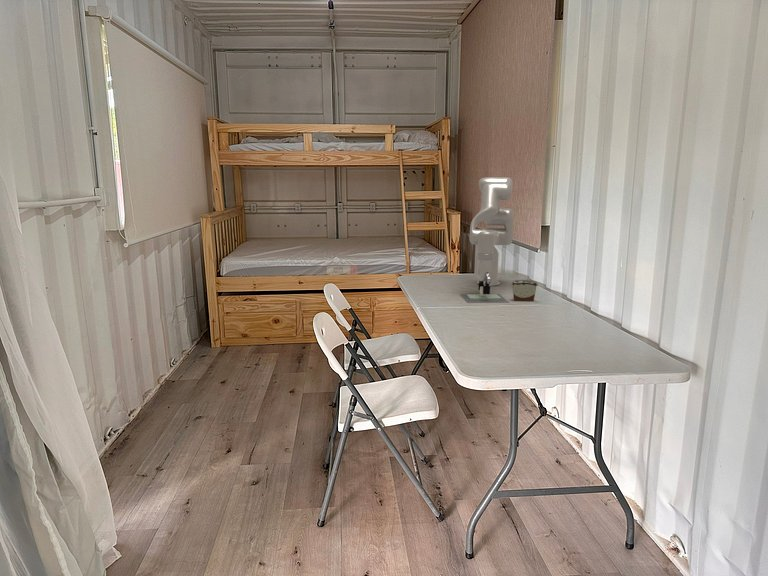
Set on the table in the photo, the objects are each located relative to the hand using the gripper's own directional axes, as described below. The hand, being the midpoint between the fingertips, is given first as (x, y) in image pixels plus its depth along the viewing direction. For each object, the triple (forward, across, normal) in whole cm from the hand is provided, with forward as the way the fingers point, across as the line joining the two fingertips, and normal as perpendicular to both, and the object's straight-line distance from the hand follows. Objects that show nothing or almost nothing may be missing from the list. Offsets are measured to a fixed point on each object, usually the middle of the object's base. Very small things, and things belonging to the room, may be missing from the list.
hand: (483, 292), depth 257 cm
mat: (+4, 0, 0) cm, 4 cm away
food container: (+4, +4, +18) cm, 19 cm away
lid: (+3, 0, 0) cm, 3 cm away
